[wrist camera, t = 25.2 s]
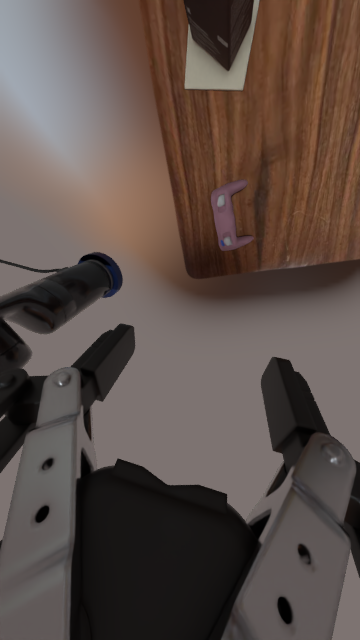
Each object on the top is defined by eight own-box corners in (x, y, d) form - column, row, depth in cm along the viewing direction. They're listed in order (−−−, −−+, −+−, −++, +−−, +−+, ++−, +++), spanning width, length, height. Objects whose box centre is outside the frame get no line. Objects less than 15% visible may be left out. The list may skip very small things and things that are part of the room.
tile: (184, 89, 25) (184, 88, 25) (193, -35, 20) (192, -38, 20) (242, 91, 24) (242, 89, 24) (267, -40, 19) (267, -43, 19)
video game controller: (223, 187, 31) (201, 192, 27) (249, 175, 28) (228, 179, 24) (232, 245, 36) (215, 257, 32) (255, 241, 33) (239, 253, 28)
